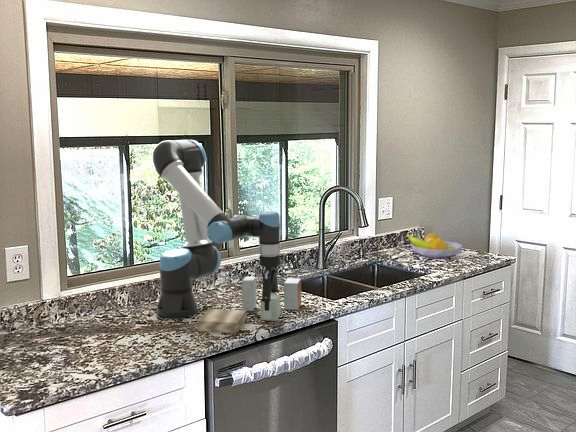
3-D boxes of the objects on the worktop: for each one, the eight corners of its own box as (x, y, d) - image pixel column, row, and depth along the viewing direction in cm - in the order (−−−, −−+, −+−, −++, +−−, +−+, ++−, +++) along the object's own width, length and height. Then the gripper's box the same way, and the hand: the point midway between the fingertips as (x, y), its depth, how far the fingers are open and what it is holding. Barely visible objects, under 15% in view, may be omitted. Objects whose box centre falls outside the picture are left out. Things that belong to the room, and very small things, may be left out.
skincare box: (245, 306, 237) (245, 275, 235) (257, 306, 236) (256, 276, 234) (241, 311, 231) (240, 279, 229) (252, 311, 230) (252, 280, 228)
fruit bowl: (467, 253, 330) (468, 232, 328) (452, 263, 307) (452, 241, 306) (417, 248, 345) (418, 228, 343) (399, 257, 322) (400, 236, 320)
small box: (297, 310, 231) (297, 283, 230) (283, 309, 232) (283, 282, 231) (301, 304, 239) (301, 278, 237) (287, 303, 240) (287, 277, 238)
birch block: (197, 332, 209) (197, 320, 209) (209, 319, 223) (209, 308, 222) (237, 334, 207) (236, 322, 206) (246, 321, 220) (246, 310, 220)
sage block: (260, 319, 221) (260, 298, 219) (264, 314, 226) (263, 293, 225) (277, 320, 220) (276, 299, 218) (280, 315, 225) (279, 294, 224)
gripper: (274, 261, 208) (274, 324, 211) (285, 248, 230) (285, 305, 233) (252, 261, 209) (253, 323, 212) (265, 248, 231) (266, 304, 234)
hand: (270, 314), depth 223 cm, fingers open, 10 cm apart
